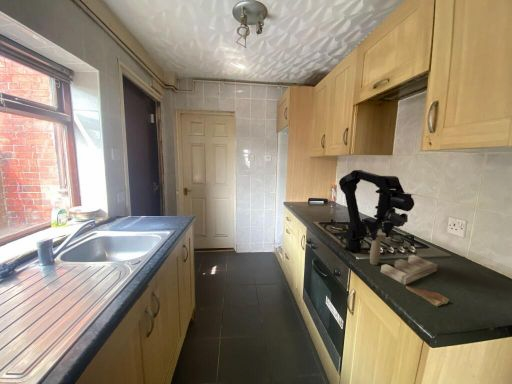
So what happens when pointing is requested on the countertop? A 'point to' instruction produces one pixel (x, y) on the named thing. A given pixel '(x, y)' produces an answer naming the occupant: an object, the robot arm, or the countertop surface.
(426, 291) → the shard
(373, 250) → the handle
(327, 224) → the countertop surface
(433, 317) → the countertop surface
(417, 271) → the notched rail
